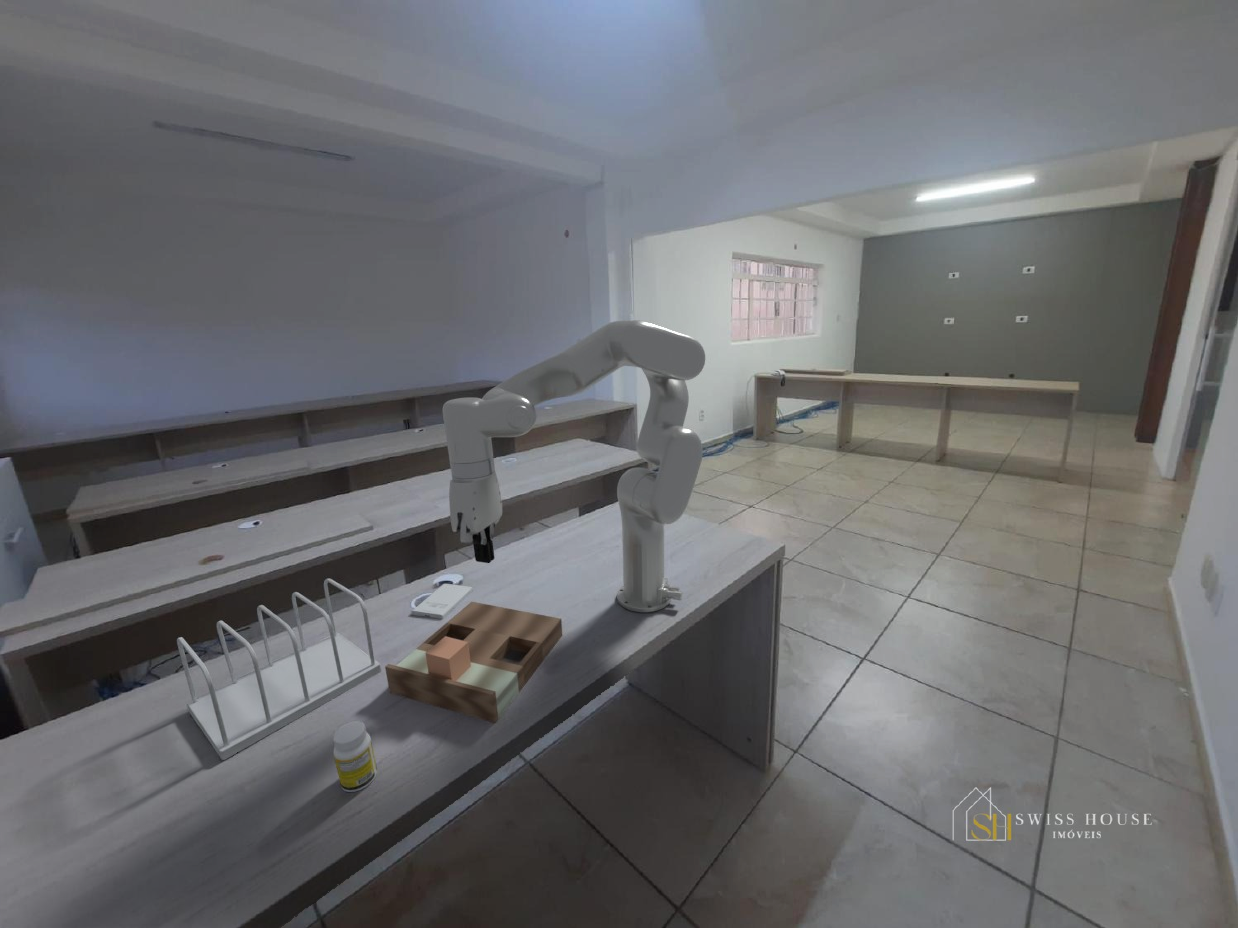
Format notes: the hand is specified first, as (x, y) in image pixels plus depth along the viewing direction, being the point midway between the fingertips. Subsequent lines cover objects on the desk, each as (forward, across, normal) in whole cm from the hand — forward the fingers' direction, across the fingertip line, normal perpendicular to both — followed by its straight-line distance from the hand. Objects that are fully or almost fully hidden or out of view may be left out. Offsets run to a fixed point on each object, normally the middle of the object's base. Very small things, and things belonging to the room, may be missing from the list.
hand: (485, 560), depth 94 cm
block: (+16, +12, -1) cm, 20 cm away
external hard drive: (+20, -12, -22) cm, 33 cm away
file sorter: (+20, +22, -30) cm, 41 cm away
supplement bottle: (+20, +32, -3) cm, 37 cm away
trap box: (+20, +4, -1) cm, 20 cm away
